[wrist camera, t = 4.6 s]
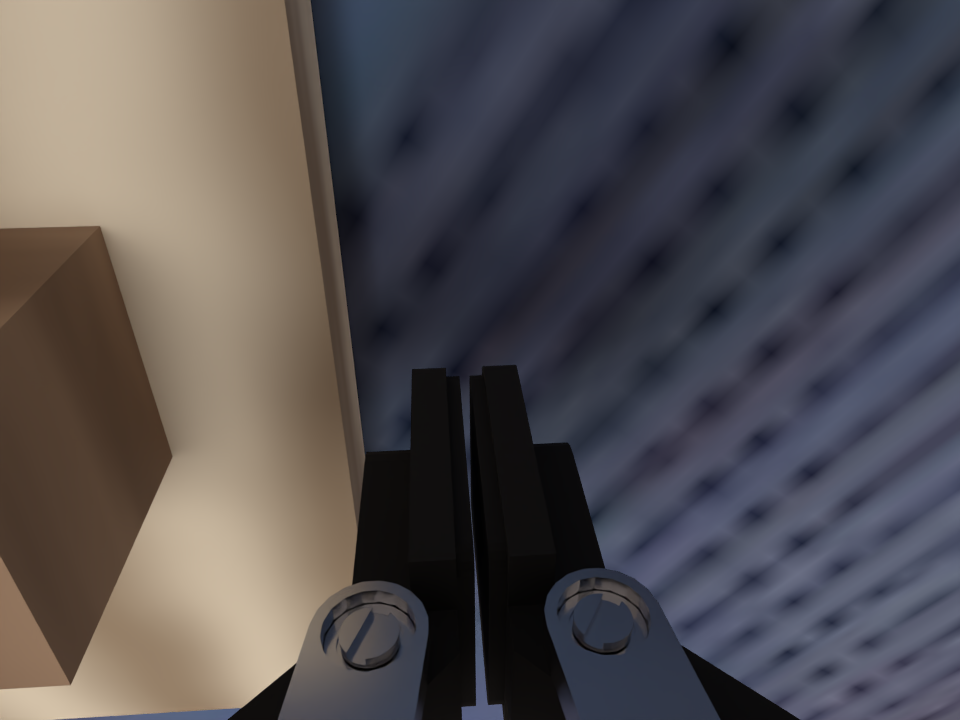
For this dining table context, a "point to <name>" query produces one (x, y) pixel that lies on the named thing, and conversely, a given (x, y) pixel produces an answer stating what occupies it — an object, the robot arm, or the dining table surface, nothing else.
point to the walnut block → (67, 448)
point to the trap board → (200, 325)
